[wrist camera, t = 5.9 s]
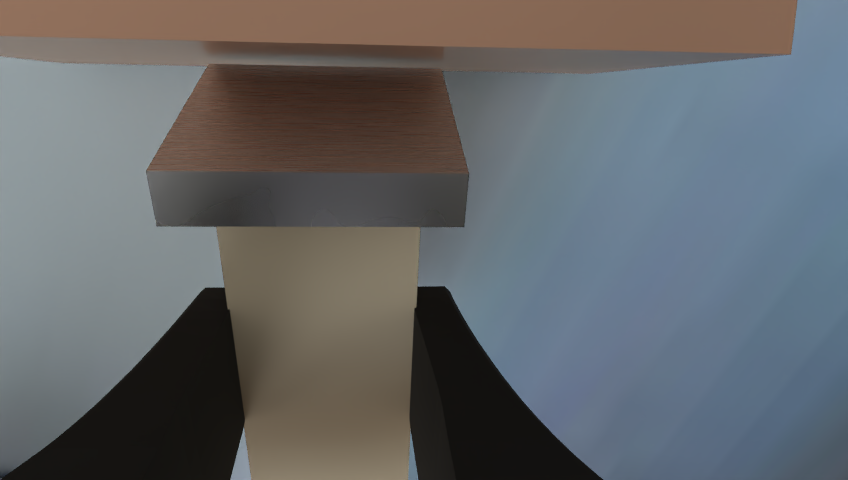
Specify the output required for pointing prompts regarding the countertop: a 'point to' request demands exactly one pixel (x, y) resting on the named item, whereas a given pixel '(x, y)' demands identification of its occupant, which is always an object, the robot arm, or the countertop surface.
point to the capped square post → (318, 247)
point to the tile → (399, 33)
